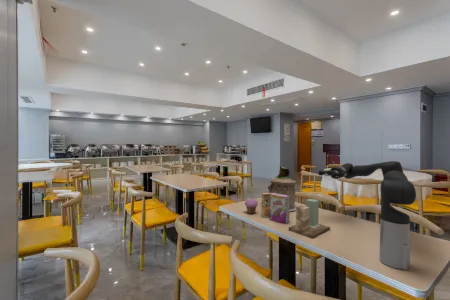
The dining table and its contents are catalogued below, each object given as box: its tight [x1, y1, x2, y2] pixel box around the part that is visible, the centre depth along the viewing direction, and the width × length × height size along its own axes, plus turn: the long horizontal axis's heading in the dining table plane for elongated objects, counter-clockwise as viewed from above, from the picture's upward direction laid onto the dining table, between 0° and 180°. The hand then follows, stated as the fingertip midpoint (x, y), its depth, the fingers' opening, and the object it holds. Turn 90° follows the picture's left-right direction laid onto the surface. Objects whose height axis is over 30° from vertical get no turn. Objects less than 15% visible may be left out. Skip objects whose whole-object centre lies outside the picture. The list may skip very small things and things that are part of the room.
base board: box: [288, 204, 331, 240], centre depth 120 cm, size 14×19×14 cm
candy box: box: [261, 192, 273, 218], centre depth 143 cm, size 9×4×15 cm, turn 98°
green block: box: [305, 198, 320, 227], centre depth 124 cm, size 5×5×14 cm
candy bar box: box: [269, 193, 290, 225], centre depth 134 cm, size 11×5×16 cm, turn 47°
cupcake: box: [244, 198, 259, 215], centre depth 149 cm, size 9×9×10 cm
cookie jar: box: [260, 165, 299, 212], centre depth 164 cm, size 25×25×32 cm
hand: (326, 174), depth 129 cm, fingers open, 8 cm apart
